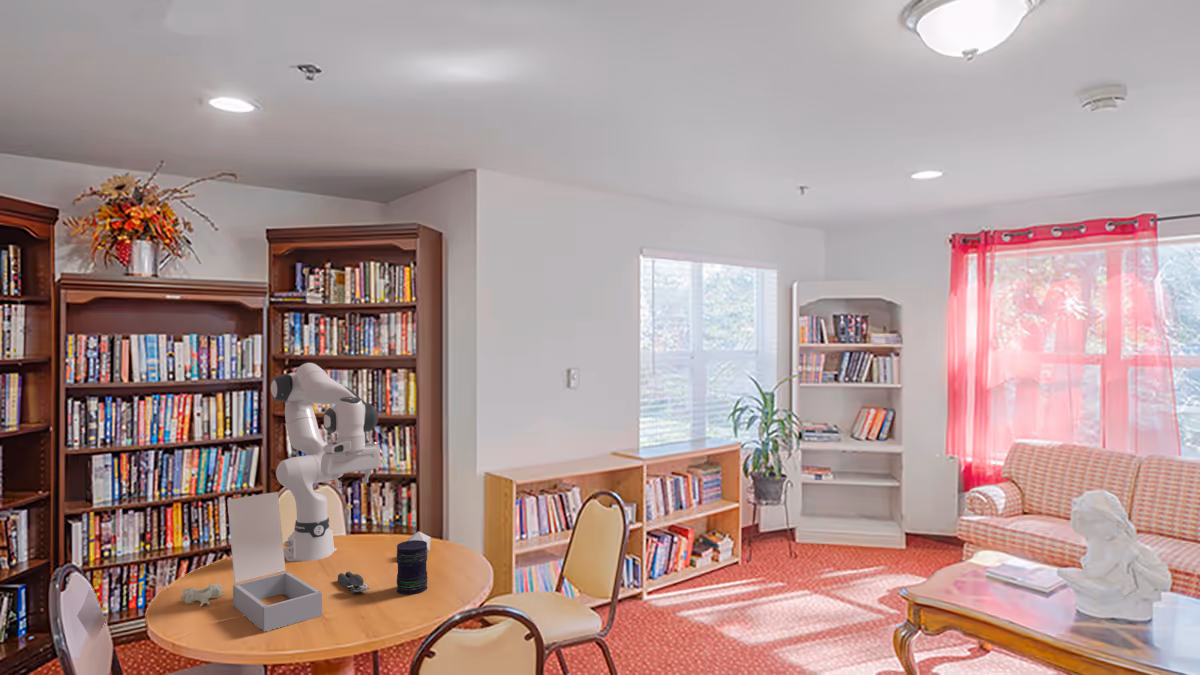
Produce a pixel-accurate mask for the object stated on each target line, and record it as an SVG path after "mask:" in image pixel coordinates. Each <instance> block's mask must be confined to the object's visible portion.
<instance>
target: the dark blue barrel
mask: <svg viewBox="0 0 1200 675" xmlns="http://www.w3.org/2000/svg"><path fill="white" fill-rule="evenodd" d="M427 561H428V552H427V542H425V541H420V540H412V541H408V540H406V541H402V542H400V543H398V544H396V563H397V575H396V588H397V589H396V592H397V593H398V594H399V595H402V596H403V595H405V596H410V595H411V596H413V595H419V594H421V593H424V592H425V591H427V589H428V571H427Z"/></svg>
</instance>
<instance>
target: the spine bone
mask: <svg viewBox="0 0 1200 675" xmlns="http://www.w3.org/2000/svg"><path fill="white" fill-rule="evenodd" d="M223 593H224V590H223V589H222V583H215V584H212V583H209V586H207V587H204V588H199V589H197V588H194V587H193V586H192V587H189V588H185V589H183V590H182V595H181V596H180V599H179V600H181V601H184V602H185V603H186V604H190V603H193V602H195V601H199V602H200V605H199V607H200V606H202V607H203V605H204V604H206V605H207V606H210V605H211V602H210V601H209V599H212V598H216V597H217V598H218V597H221V596H222V594H223Z"/></svg>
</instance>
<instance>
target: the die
mask: <svg viewBox="0 0 1200 675" xmlns="http://www.w3.org/2000/svg"><path fill="white" fill-rule="evenodd" d="M431 538H432V537H431V536H429V535H427V534H425V533H423V532H421V531H417V532H415V533H413V534H412V535H410V536H409V537H408V538H407V541H412V540H420V541H425V542H427V553H429V552H430V549H431V542H432V540H431Z"/></svg>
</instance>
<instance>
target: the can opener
mask: <svg viewBox="0 0 1200 675" xmlns="http://www.w3.org/2000/svg"><path fill="white" fill-rule="evenodd" d="M337 582H338V583H340V585H342V587H344V588H345V589H346V590H348V591H350V593H352V594H355V593H360V592H366V591H368V590H369V589H370V586H368V585H367V584H366V583H364V579H363V577H362V576H361V575H360V574H358V573H357V574H356V573H352V572H351V571H346V572H345V574H344V573H343V572H339V573H338V574H337Z"/></svg>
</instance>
